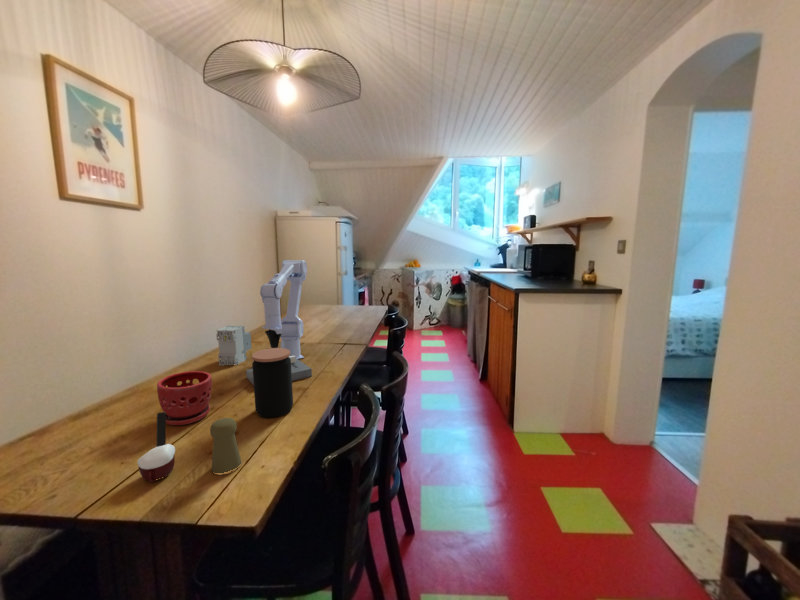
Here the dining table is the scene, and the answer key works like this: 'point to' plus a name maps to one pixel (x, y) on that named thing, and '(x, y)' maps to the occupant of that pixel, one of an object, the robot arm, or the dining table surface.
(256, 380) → the coffee jar
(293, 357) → the paddle
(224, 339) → the circuit breaker
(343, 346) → the dining table surface
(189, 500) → the dining table surface
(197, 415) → the plant pot
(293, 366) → the grey slider panel
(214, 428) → the cork
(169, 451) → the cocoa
